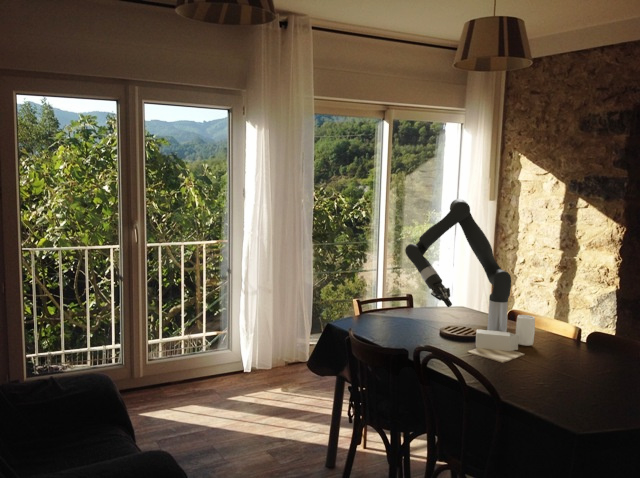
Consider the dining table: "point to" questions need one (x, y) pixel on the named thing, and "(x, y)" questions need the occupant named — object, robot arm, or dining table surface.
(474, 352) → the birch board
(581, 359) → the dining table surface
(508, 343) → the milk carton
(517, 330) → the cup
